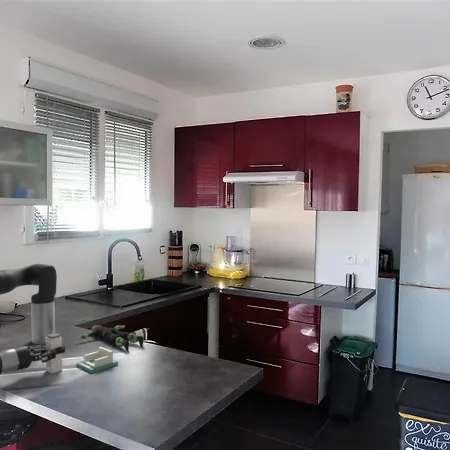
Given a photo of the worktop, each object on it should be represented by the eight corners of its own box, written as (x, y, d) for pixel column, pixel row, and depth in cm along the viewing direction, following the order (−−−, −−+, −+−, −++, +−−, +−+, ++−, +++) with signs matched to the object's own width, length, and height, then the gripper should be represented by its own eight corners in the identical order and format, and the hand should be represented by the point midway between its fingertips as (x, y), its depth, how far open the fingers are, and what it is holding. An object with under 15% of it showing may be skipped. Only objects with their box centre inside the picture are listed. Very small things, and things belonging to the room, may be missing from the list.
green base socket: (76, 366, 163) (76, 352, 162) (102, 358, 171) (102, 345, 171) (91, 373, 156) (91, 358, 156) (117, 364, 164) (117, 350, 164)
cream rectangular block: (44, 371, 158) (43, 335, 157) (56, 367, 161) (56, 332, 161) (49, 373, 155) (49, 337, 155) (62, 370, 159) (61, 334, 158)
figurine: (158, 342, 192) (117, 331, 212) (158, 328, 192) (116, 318, 211) (108, 357, 173) (67, 344, 192) (107, 342, 173) (67, 330, 192)
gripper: (3, 365, 152) (52, 353, 165) (22, 376, 143) (71, 362, 156) (3, 344, 152) (51, 333, 165) (21, 353, 143) (71, 341, 155)
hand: (61, 347), depth 160 cm, fingers closed on cream rectangular block, 4 cm apart
